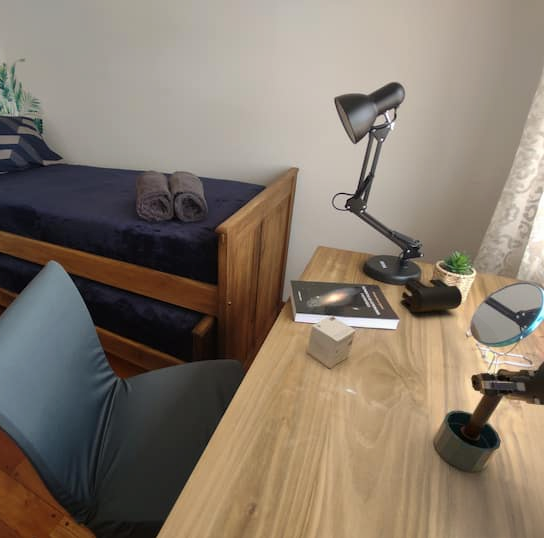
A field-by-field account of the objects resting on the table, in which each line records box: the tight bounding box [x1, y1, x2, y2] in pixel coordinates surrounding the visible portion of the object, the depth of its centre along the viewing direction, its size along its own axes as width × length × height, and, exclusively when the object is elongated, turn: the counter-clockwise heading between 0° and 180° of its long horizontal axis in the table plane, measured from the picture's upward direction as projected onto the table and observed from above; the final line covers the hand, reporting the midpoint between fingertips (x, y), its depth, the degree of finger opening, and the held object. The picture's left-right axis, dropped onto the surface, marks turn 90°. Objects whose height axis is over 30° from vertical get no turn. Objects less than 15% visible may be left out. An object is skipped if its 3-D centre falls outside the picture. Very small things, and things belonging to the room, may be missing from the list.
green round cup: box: [433, 410, 502, 473], centre depth 55 cm, size 7×7×6 cm
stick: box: [457, 368, 509, 446], centre depth 51 cm, size 2×2×14 cm
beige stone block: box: [306, 315, 356, 369], centre depth 73 cm, size 6×6×7 cm
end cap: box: [400, 278, 463, 313], centre depth 87 cm, size 10×7×7 cm
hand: (483, 383), depth 51 cm, fingers closed on stick, 2 cm apart
